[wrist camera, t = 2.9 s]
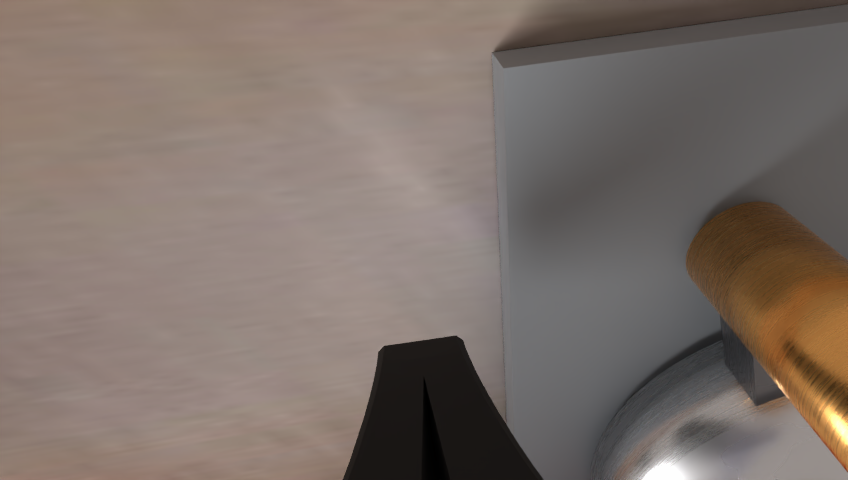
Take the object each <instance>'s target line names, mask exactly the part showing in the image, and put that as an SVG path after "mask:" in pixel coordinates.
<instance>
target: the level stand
mask: <svg viewBox="0 0 848 480" xmlns="http://www.w3.org/2000/svg"><path fill="white" fill-rule="evenodd" d="M492 66H493V91H494V116H495V141H496V166H497V192H498V217H499V242H500V267H501V292H502V317H503V343H504V368H505V393H506V418H507V426H508V428H509V429H510V431H511V433H512V434H513V436H514V437H515V439H516V440H517V442H518V444H519V445H520V447H521V448H522V450H523V451H524V452H525V454H526V455H527V457H528V458H529V460H530V461H531V463H532V464H533V466H534V467H535V468H536V470H537V471H538V472H539V474H540V475H541V477H542V478H543V479H544V480H591V463H592V458H593V453H594V451H595V448H596V446H597V443H598V441H599V439H600V437H601V435H602V434H603V432H604V430H605V428H606V427H607V425H608V424H609V422H610V421H611V420H612V418H613V417H614V416H615V415H616V413H617V412H618V411H619V410H620V408H621V407H622V406H623V405H624V404H625V403H626V402H627V401H628V400H629V399H630V398H631V397H632V396H633V395H634V394H635V393H636V392H638V391H639V390H640V389H641V388H642V387H644V386H645V385H646V384H647V383H648V382H650V381H651V380H652V379H653V378H655V377H656V376H658V375H659V374H661V373H662V372H664V371H665V370H666V369H668V368H669V367H671V366H672V365H674V364H676V363H677V362H679V361H681V360H683V359H684V358H686V357H688V356H690V355H691V354H693V353H695V352H697V351H699V350H701V349H703V348H706V347H708V346H710V345H712V344H714V343H716V342H718V341H721V340H722V333H721V324H720V315H719V313H718V312H717V311H716V309H715V308H714V307H713V306H712V304H711V303H710V302H709V301H708V299H707V298H706V297H705V296H704V294H703V293H702V292H701V291H700V290H699V288H698V287H697V286H696V285H695V283H694V282H693V281H692V280H691V278H690V277H689V275H688V273H687V269H686V255H687V251H688V249H689V246H690V244H691V242H692V240H693V239H694V237H695V236H696V234H697V233H698V232H699V231H700V229H701V228H702V227H703V226H704V225H705V224H706V223H707V222H709V221H710V220H711V219H712V218H714V217H715V216H717V215H718V214H720V213H721V212H723V211H725V210H727V209H729V208H732V207H734V206H737V205H740V204H743V203H748V202H757V201H761V202H770V203H773V204H776V205H778V206H780V207H782V208H783V209H784V210H786V211H787V212H788V213H790V214H791V215H792V216H793V217H795V218H796V219H797V220H798V221H800V222H801V223H802V224H803V225H805V226H806V227H807V228H808V229H810V230H811V231H812V232H813V233H815V234H816V235H817V236H818V237H820V238H821V239H822V240H823V241H825V242H826V243H827V244H828V245H830V246H831V247H832V248H834V249H835V250H836V251H837V252H839V253H840V254H841V255H842V256H844V257H845V258H846V259H847V260H848V4H847V5H839V6H832V7H825V8H817V9H810V10H802V11H795V12H788V13H780V14H773V15H765V16H758V17H751V18H743V19H736V20H728V21H721V22H714V23H706V24H699V25H691V26H684V27H677V28H669V29H662V30H654V31H647V32H639V33H632V34H625V35H617V36H610V37H602V38H595V39H588V40H580V41H573V42H565V43H558V44H551V45H543V46H536V47H528V48H521V49H514V50H506V51H499V52H492Z"/></svg>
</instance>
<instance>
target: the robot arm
mask: <svg viewBox="0 0 848 480" xmlns="http://www.w3.org/2000/svg"><path fill="white" fill-rule="evenodd" d="M343 480H544V479H543V478H542V477H541V475H540V474H539V472H538V471H537V470H536V468H535V467H534V466H533V464H532V463H531V461H530V460H529V458H528V457H527V455H526V454H525V452H524V451H523V450H522V448H521V447H520V445H519V444H518V442H517V440H516V439H515V437H514V436H513V434H512V433H511V431H510V429H509V428H508V426H507V425H506V423H505V422H504V420H503V418H502V417H501V415H500V414H499V412H498V410H497V409H496V407H495V405H494V404H493V402H492V400H491V399H490V397H489V395H488V393H487V391H486V390H485V388H484V386H483V384H482V382H481V380H480V378H479V377H478V375H477V373H476V371H475V369H474V366H473V364H472V362H471V360H470V358H469V355H468V353H467V350H466V348H465V345H464V342H463V340H462V339H460V338H459V337H457V336H451V337H444V338H437V339H430V340H423V341H416V342H409V343H402V344H395V345H388V346H384V347H383V348H382V349H381V350H380V351H379V352H378V360H377V367H376V372H375V377H374V382H373V386H372V390H371V394H370V398H369V402H368V405H367V409H366V412H365V416H364V419H363V422H362V426H361V429H360V432H359V435H358V438H357V441H356V444H355V447H354V450H353V453H352V456H351V459H350V462H349V465H348V467H347V470H346V473H345V475H344V478H343Z"/></svg>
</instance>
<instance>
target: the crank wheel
mask: <svg viewBox="0 0 848 480" xmlns="http://www.w3.org/2000/svg"><path fill="white" fill-rule="evenodd" d="M686 269H687V273H688V275H689V277H690V278H691V280H692V281H693V282H694V283H695V285H696V286H697V287H698V288H699V290H700V291H701V292H702V293H703V294H704V296H705V297H706V298H707V299H708V301H709V302H710V303H711V304H712V306H713V307H714V308H715V309H716V311H717V312H718V313H719V315H720V324H721V333H722V340H721V341H718V342H716V343H714V344H712V345H710V346H708V347H706V348H703V349H701V350H699V351H697V352H695V353H693V354H691V355H690V356H688V357H686V358H684V359H683V360H681V361H679V362H677V363H676V364H674V365H672V366H671V367H669V368H668V369H666V370H665V371H664V372H662V373H661V374H659V375H658V376H656V377H655V378H653V379H652V380H651V381H650V382H648V383H647V384H646V385H645V386H644V387H642V388H641V389H640V390H639V391H638V392H636V393H635V394H634V395H633V396H632V397H631V398H630V399H629V400H628V401H627V402H626V403H625V404H624V405H623V406H622V407H621V408H620V410H619V411H618V412H617V413H616V415H615V416H614V417H613V418H612V420H611V421H610V422H609V424H608V425H607V427H606V428H605V430H604V432H603V434H602V435H601V437H600V439H599V441H598V443H597V446H596V448H595V451H594V453H593V458H592V463H591V480H848V260H847V259H846V258H845V257H844V256H842V255H841V254H840V253H839V252H837V251H836V250H835V249H834V248H832V247H831V246H830V245H828V244H827V243H826V242H825V241H823V240H822V239H821V238H820V237H818V236H817V235H816V234H815V233H813V232H812V231H811V230H810V229H808V228H807V227H806V226H805V225H803V224H802V223H801V222H800V221H798V220H797V219H796V218H795V217H793V216H792V215H791V214H790V213H788V212H787V211H786V210H784V209H783V208H782V207H780V206H778V205H776V204H773V203H770V202H761V201H757V202H748V203H743V204H740V205H737V206H734V207H732V208H729V209H727V210H725V211H723V212H721V213H720V214H718V215H717V216H715V217H714V218H712V219H711V220H710V221H709V222H707V223H706V224H705V225H704V226H703V227H702V228H701V229H700V231H699V232H698V233H697V234H696V236H695V237H694V239H693V240H692V242H691V244H690V246H689V249H688V251H687V255H686Z"/></svg>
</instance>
